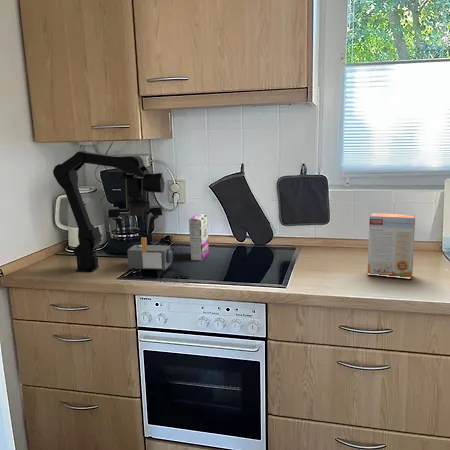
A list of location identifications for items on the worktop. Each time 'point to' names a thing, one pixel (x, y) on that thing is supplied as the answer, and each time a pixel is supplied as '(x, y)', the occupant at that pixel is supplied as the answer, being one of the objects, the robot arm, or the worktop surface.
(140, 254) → the grey box with panel
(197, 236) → the candy bar box
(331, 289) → the worktop surface
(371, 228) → the cracker box
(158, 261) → the side door
